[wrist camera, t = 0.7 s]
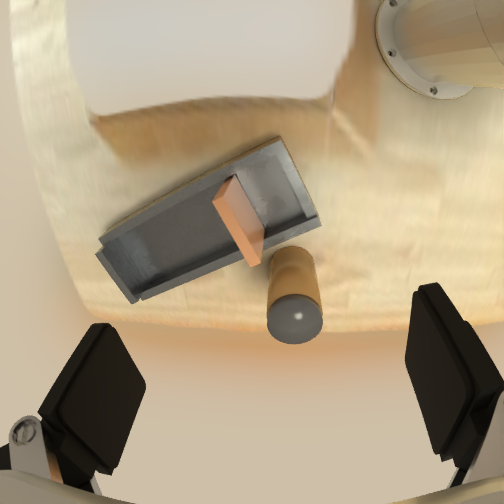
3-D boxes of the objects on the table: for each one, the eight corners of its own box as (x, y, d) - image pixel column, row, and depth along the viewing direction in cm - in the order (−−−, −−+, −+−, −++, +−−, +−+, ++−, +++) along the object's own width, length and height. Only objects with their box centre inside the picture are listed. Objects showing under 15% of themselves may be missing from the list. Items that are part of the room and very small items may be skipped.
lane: (280, 135, 30) (280, 143, 25) (318, 214, 33) (324, 234, 29) (109, 227, 36) (89, 246, 31) (150, 286, 39) (136, 311, 35)
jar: (303, 239, 35) (311, 292, 26) (320, 275, 36) (331, 334, 28) (262, 256, 36) (256, 313, 27) (281, 290, 38) (280, 351, 29)
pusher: (234, 174, 31) (223, 196, 24) (264, 229, 33) (261, 263, 27) (225, 178, 31) (211, 201, 25) (255, 232, 33) (250, 267, 27)
